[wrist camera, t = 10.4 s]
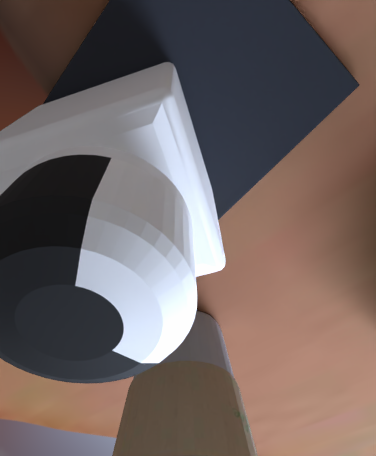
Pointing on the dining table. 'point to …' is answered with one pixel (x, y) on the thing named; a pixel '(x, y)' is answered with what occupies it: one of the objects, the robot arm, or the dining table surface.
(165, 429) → the coffee cup
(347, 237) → the dining table surface
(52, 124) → the medicine bottle
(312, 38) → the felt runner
